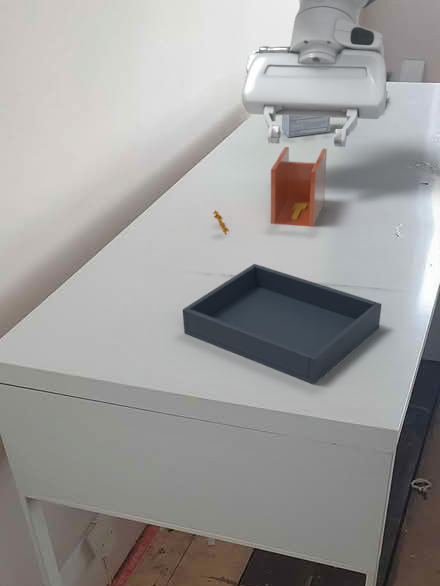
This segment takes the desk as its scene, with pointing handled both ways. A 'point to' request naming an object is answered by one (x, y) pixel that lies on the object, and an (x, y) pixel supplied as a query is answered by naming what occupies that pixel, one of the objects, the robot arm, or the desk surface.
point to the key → (298, 210)
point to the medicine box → (304, 125)
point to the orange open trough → (297, 189)
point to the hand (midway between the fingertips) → (306, 143)
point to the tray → (283, 321)
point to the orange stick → (220, 222)
